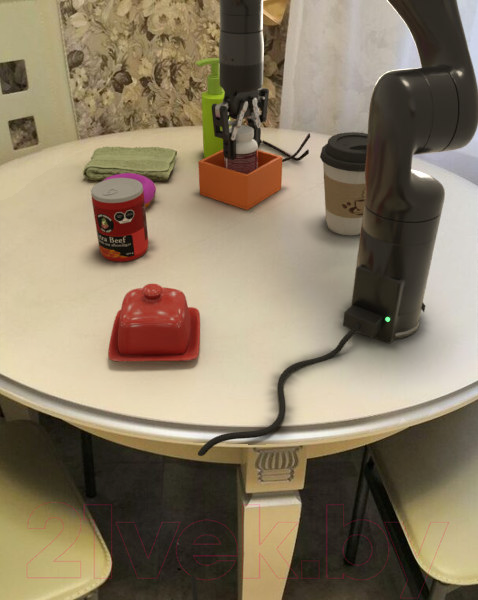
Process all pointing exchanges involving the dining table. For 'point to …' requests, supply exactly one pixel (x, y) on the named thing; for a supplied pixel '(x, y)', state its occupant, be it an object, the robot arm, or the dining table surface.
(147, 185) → the donut
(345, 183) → the coffee cup
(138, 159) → the washcloth
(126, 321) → the butter dish
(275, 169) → the bin
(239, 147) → the pill bottle
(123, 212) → the canned food
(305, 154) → the sunglasses
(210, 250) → the dining table surface
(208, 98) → the soap dispenser
